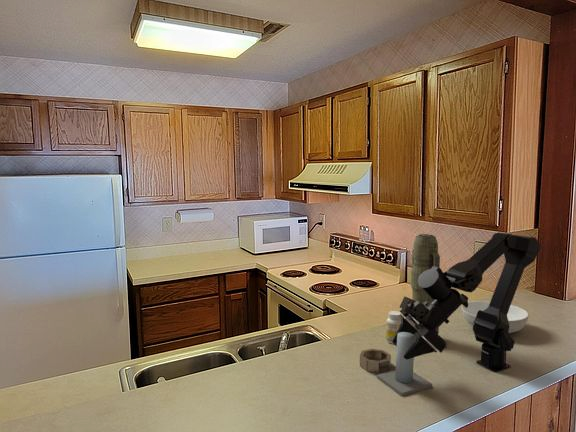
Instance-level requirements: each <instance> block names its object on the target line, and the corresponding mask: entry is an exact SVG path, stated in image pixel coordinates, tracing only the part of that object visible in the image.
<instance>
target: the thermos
mask: <svg viewBox="0 0 576 432" xmlns="http://www.w3.org/2000/svg"><path fill="white" fill-rule="evenodd" d="M412 247H413V248H412V250H411V253H412V254H411V255H412V256H411V258H412V259H411V273H410V286H411V289H412V290H411V291H412V293H411V294H412V298H411V299H412V300H415V301H419V302H420V303H424V302H425V301H428V302H429V303H430V302H431V301H432V300H433V299H432V298H431V297H430V296H429V295H428V294H427V293H426V292H425V291H424V290H423V289H422V288H421V287H420V286H419V285H418V282H417V280H418V277H419V275H420V274H422V273H423V272H424V271H426V270H429V269H431V268H432V267H433V266H436V267H439V268H441V267H440V266H441V265H440V263H441V256H440V254H439V243H438V240H437V237H436V236H434V235H433V234H427V233H425V234H424V233H422V234H418V235H416V236H415V239H414V241H413V246H412ZM414 328H415V329H416V330H417V331H418V333H419V334H420V335H421V336H423V335H422V334H421V333H420V329H417V328H416V327H415V326H414ZM436 331H437V332H438V334H439V333H440V327H439V328H438V329H437V330H436ZM413 335H415V341H416V333H415V334H413Z"/></svg>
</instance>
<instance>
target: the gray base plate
mask: <svg viewBox="0 0 576 432" xmlns="http://www.w3.org/2000/svg"><path fill="white" fill-rule="evenodd" d="M395 377H396V369H395V370H389V371H385V372H382V373H378V374H376V379H377V380H379V381H380V382H382V383H383V384H384V385H385V386H386V387H388V388H389V389H391V390H393V391H394V392H396V394H398V395H399V396H401V397H404V396H406V395H409V394H413V393H417V392H419V391H423V390H426V389H429V388H432V387H433V383H431V382H430V381H429V380H427V379H425V378H424V377H422V376H421V375H419V374H417V373H415V372H414V371H413V381H412V382H411V383H401V382H399V381H397V380H396V378H395Z"/></svg>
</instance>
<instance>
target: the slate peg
mask: <svg viewBox="0 0 576 432" xmlns="http://www.w3.org/2000/svg"><path fill="white" fill-rule="evenodd" d="M414 342H415V335H413V334H411V333H408V332H399V333H398V334H397V344H396V355H395V357H396V360H395V370H396V377H395V378H396V380H397V381H399V382H401V383H411V382H412V381H413V372H414V363H415V362H414V361H415V359H414V358H415V357H414V358H411V359H407V360H406V359H405V358H404V357H403V356H404V355H405V353H406V352H407V351H408V349H409V348H410V347H411V346H412V344H413V343H414Z"/></svg>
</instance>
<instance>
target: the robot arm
mask: <svg viewBox="0 0 576 432" xmlns="http://www.w3.org/2000/svg"><path fill="white" fill-rule="evenodd" d="M540 251H541V244H540V242H539V240H538V239H537V237H535V236H526V235H518V234H512V233H506V232H499V231H498V232H496V233H493V235H492V236H491V239H489V240H488V241H487V242H486V243H485V244H483V246H481V248H479V249H478V250H477V251H476V252H475V253H474V254H473V255H472V256H471V257H470V258H468V259H467V260H464V261H461V262H457V263H456V264H454V265H453V266H451V267H450V268H448V269H447V271H444V272H443V270H442V268H441V267H436V266H433V267H432V268H431V269H429V270H426V271H424V272H423V273H422V274H420V275H419V277H418V280H417V282H418V285H419V286H420V287H421V288H422V289H423V290H424V291H425V292H426V293H427V294H428V295H429V296H430V297H431V298H432V299H433V300H432V301H431V302H430V303H429V302H428V301H425V302H424V303H420V302H419V301H415V300H412V298H410V297H407V296H403V298H402V300H401V303H400V305H399V309H400V310H399V312H400V313H401V314H400V317H401V324H400V327H399V329H398V331H397V333H396V335H395V337H394V339H393V341H392V342H393V343H394V344H393V345H397V334H398V333H399V332H408V333H411V334H415V333H416V341H415V342H414V343H413V344H412V346H411V347H410V348H409V349H408V351H407V352H406V353H405V355H404V356H403V357H404V358H405V359H406V360H407V359H411V358H416V357H417V358H418V357H420V356H423V355H428V354H431V353H438V352H439V353H440V354H442V352H444V351H445V350H446V348H447V341H446V340H444V339H443V338H442V337H441V336H440V335H439V333H438V332H437V331H436V330H437V329H438V328H439V329H440V327H441V326H442V325H443V324H444V323H445V324H446V325H448V323H450V320H449V318H450V317H451V316H452V314H453V313H454V312H456V311H457V310H458V308H459V307H461V306H462V305H463V306H464V307H466V308H467V307H468V302H469V297H468V295H465V294H464V293H460V292H459V290H460V291H462V292H466V293H474V291H476V289H478V287H479V285H480V284H482V282H483V274H484V273H485V272H486V271H487V270H488V269H489V268H490V267H491V266H492V265H493V264H494V263H495V262H496V261H497V260H499V259H500V258H501V256H504V261H505V262H504V266H502V267H503V268H502V271H501V273H500V276H499V278H498V281H497V283H496V287H495V289H494V292H493V294H492V296H491V298H490V304H489V306H488V308H487V309H485V310H484V311H481V310H479V311H478V312H477V315H476V318H475V320H474V321H473V323H474V325H473V326H472V330H473V334H474V338H475V341H477V342H479V343H482V344H481V350H480V359H478V360H476V364H478V365H480V366H482V367H484V368H486V369H487V370H491V371H492V372H495V373H498V372H501V371H504V370H508V369H510V368H512V365H511V364H509V363H507V352H511V351H512V349H514V347H515V342H516V341H515V340H514V338H513V337H512V336H511V334H510V333H508V331H509V327H510V326H509V322H508V318H507V313H508V311H509V308H510V305H512V303H513V300H514V297H515V294H516V292H517V289H518V287H519V284H520V281H521V279H522V277H523V273H524V270H525V268H527V267H528V266H529V265H531V264H532V263H534V262H535V261H536V259H537V256H538V254H539V253H540ZM414 326H415V327H416V328H417V329H420V333H421V334H422V335H423V336H421V335H420V334H419V333H418V331H417V330H416V329H415V328H414Z"/></svg>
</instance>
